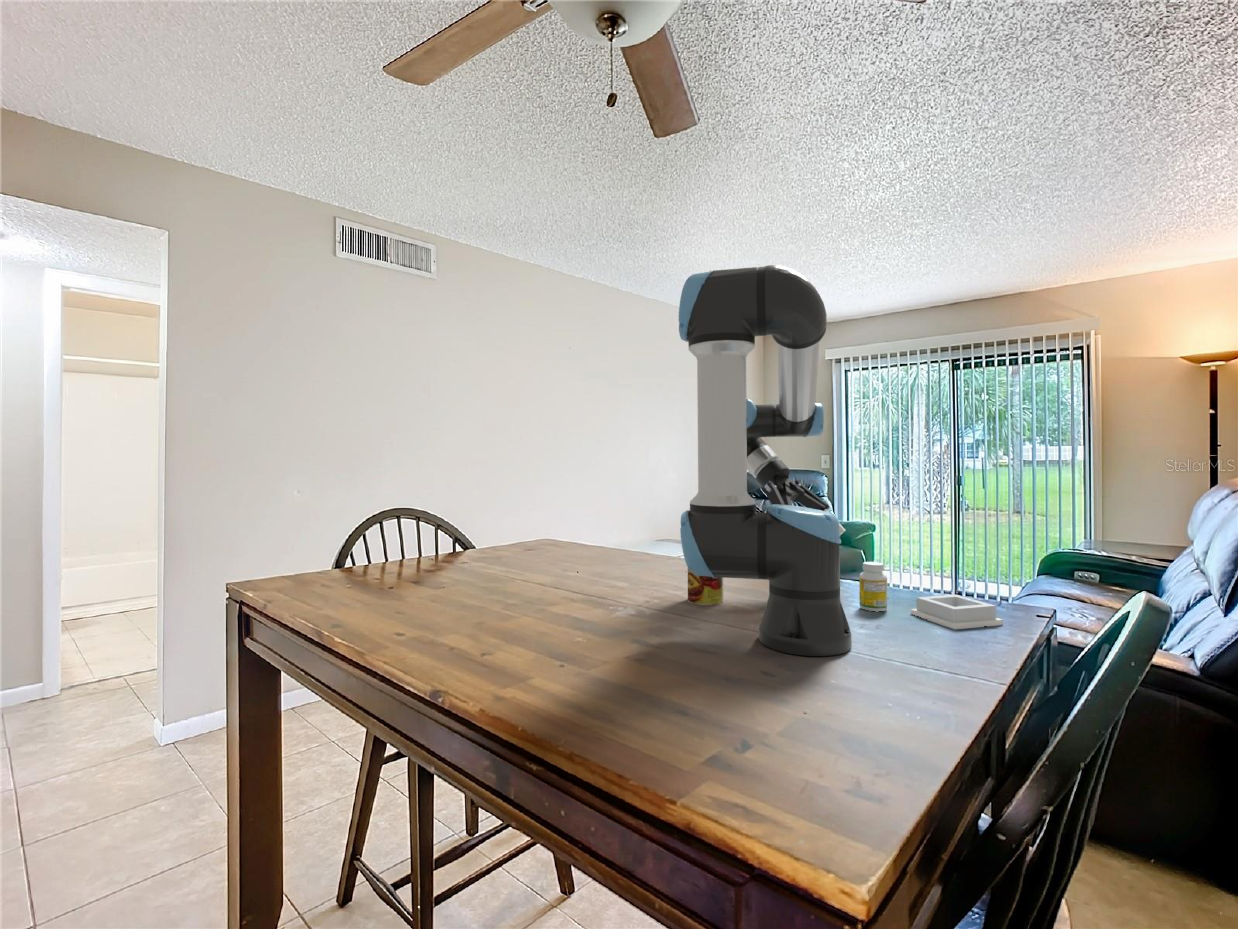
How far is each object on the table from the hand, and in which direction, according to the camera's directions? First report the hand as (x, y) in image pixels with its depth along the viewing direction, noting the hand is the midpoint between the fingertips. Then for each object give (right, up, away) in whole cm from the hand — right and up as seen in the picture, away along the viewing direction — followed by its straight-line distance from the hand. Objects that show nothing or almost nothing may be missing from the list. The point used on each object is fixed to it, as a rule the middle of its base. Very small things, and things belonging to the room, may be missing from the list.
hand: (827, 537), depth 129 cm
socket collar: (+19, -14, -16) cm, 29 cm away
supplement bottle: (+7, -14, -7) cm, 18 cm away
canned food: (-27, -14, +1) cm, 31 cm away
